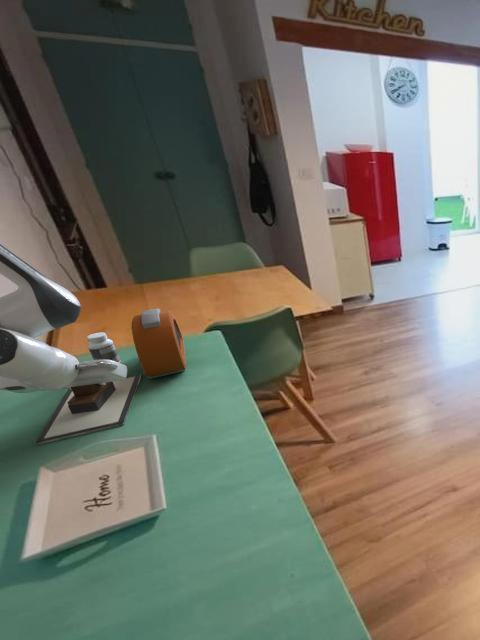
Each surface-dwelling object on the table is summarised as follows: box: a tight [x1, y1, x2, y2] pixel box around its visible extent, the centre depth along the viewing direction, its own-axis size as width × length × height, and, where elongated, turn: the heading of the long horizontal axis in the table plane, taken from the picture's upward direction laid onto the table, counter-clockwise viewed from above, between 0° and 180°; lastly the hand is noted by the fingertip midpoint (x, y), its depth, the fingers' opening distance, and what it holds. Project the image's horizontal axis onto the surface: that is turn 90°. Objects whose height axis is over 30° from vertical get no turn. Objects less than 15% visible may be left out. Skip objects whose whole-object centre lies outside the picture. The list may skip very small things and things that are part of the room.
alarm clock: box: [131, 308, 187, 379], centre depth 122 cm, size 23×9×17 cm, turn 37°
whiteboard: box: [34, 373, 143, 446], centre depth 105 cm, size 15×26×1 cm, turn 31°
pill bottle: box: [86, 332, 122, 363], centre depth 122 cm, size 5×5×10 cm
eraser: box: [67, 382, 116, 414], centre depth 104 cm, size 10×5×9 cm, turn 21°
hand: (89, 384), depth 105 cm, fingers closed on eraser, 4 cm apart
